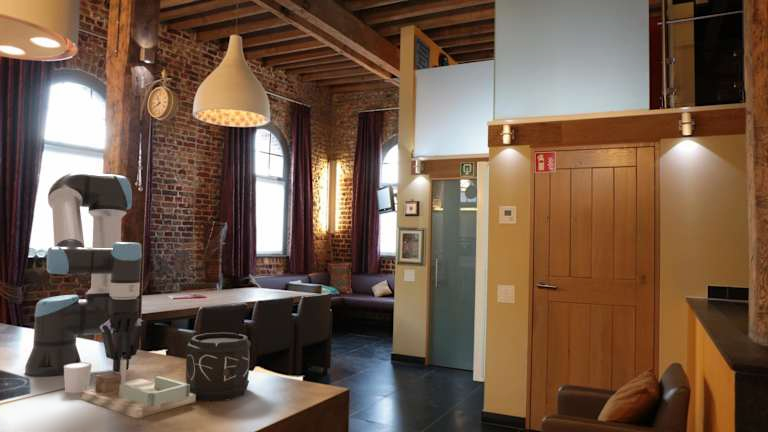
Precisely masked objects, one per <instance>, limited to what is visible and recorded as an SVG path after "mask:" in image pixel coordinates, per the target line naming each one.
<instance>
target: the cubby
mask: <svg viewBox="0 0 768 432" xmlns="http://www.w3.org/2000/svg"><path fill="white" fill-rule="evenodd" d="M154 383H155V385H154V388H157V389H160V391H156V392H150V391H146V390H143V389H140V388H136V387H133V386H130V385H126V384H121V385H120V389H119V396H120V397H123V398H126V399H129V400H132V401H135V402H138V403H141V404H144V405H147V406H150V407H151V406H155V405H158V404H162V403H166V402H169V401H173V400H177V399H180V398H184V397H188V396H190V384H186V382H183V381H182V382H181V381H178V380H174V379H172V378H171V379H170V378H167V377H163V376H160V375H157V376H155V377H154Z"/></svg>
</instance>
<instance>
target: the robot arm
mask: <svg viewBox="0 0 768 432" xmlns="http://www.w3.org/2000/svg"><path fill="white" fill-rule="evenodd" d="M132 192H133V191H132V186H131V183H130V180H129V178H127V177H126V176H124V175H117V174H109V173H108V174H107V173H98V172H97V173H96V172H95V173H94V172H85V171H75V172H74V171H73V172H71V173H66V174H65V175H63V176H61V177H60V178H59V179H57V180H56V181H55V182H54V183H53V184H52V185H51V187H50V188H49V190H48V195H47V201H48V205H49V207H50V208H51V209H52V225H53V226H52V227H53V228H52V229H53V245H54V246H53V247H51V246H50V247H49V248H48V249H47V254H46V271H47V273H49V274H51V275H53V274H54V275H55V274H56V275H62V276H64V275H91V279H90V281H91V282H90V284H91V285H90V289H89V290H88V291H87V292H85V298H84V299H83V298H80V297H79V295H77V294H65V295H57V296H51V297H46V298H43V299H40V300H39V301H38V302H37V303H36V304H35V305H36V306H35V313H34V318H35V319H34V329H33V330H34V332H33V333H34V334H33V346H32V349H31V351H30V354H29V357H28V358H27V362H26V363H25V368H24V369H25V372H24V373H25V374H26V375H29V376H36V377H50V376H51V377H52V376H59V375H64V366H65V365H67V364H72V363H82V359H81V357H80V353H79V350H78V348H77V336H89V335H90V336H91V335H102V339H103V340H102V341H103V346H104V350H105V351H104V352H105V357H106V359H111V360H112V361H113V362H112V363H113V364H112V365H113V366H112V371H113V373H116V374H120V375H121V384H124V383H125V382H126V381H127V379H126V378H127V377H126V376H127V371H128V370H129V368H130V367H129V366H130V360H131V359H132V358H133V356H136V355H137V354H138V353H137V352H138V349H139V345H140V340H141V337H142V334H143V329H144V328H145V326H146V324H147V321H146V320H143V319H141V318H140V316H139V314H138V313H139V309H140V299H139V297H140V286H141V270H142V268H141V267H142V257H143V253H142V244H141V243H140V242H133V241H132V242H131V241H130V242H128V241H127V242H126V241H125V242H124V241H122V218H123V217H125V215H127V210H130V209H131V208H132V205H133V193H132ZM81 207H83V208H88V214H89V215H90V216H91V217H92V218H93V220H92V221H93V222H92V225H93V226H92V247H85V239H84V233H83V222H82V214H81ZM112 334H113V336H112Z"/></svg>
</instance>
